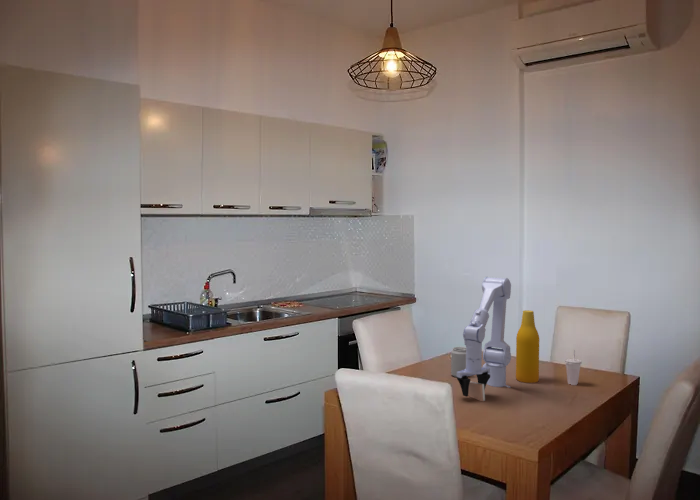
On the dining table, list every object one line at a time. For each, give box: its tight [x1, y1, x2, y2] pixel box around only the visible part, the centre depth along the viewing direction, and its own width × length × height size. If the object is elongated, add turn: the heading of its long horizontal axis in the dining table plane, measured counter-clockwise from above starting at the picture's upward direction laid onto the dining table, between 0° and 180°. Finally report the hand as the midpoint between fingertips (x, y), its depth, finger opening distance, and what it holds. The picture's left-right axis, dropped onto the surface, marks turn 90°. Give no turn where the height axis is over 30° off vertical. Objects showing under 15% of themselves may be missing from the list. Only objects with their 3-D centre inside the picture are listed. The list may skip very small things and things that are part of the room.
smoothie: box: [564, 349, 582, 386], centre depth 234 cm, size 6×6×14 cm
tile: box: [467, 380, 486, 402], centre depth 213 cm, size 9×2×6 cm, turn 29°
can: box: [450, 346, 466, 378], centre depth 246 cm, size 8×8×12 cm
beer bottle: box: [515, 310, 540, 384], centre depth 239 cm, size 9×9×29 cm
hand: (473, 394), depth 214 cm, fingers open, 7 cm apart
